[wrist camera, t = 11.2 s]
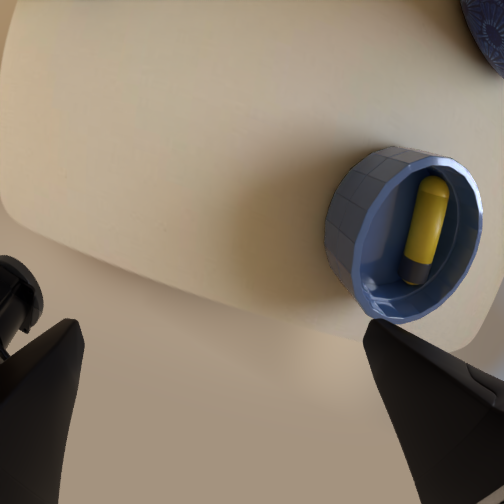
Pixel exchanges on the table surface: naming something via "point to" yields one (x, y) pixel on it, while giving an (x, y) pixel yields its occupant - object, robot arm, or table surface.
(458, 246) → the bowl
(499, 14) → the planter
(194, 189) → the table surface
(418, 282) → the marker
